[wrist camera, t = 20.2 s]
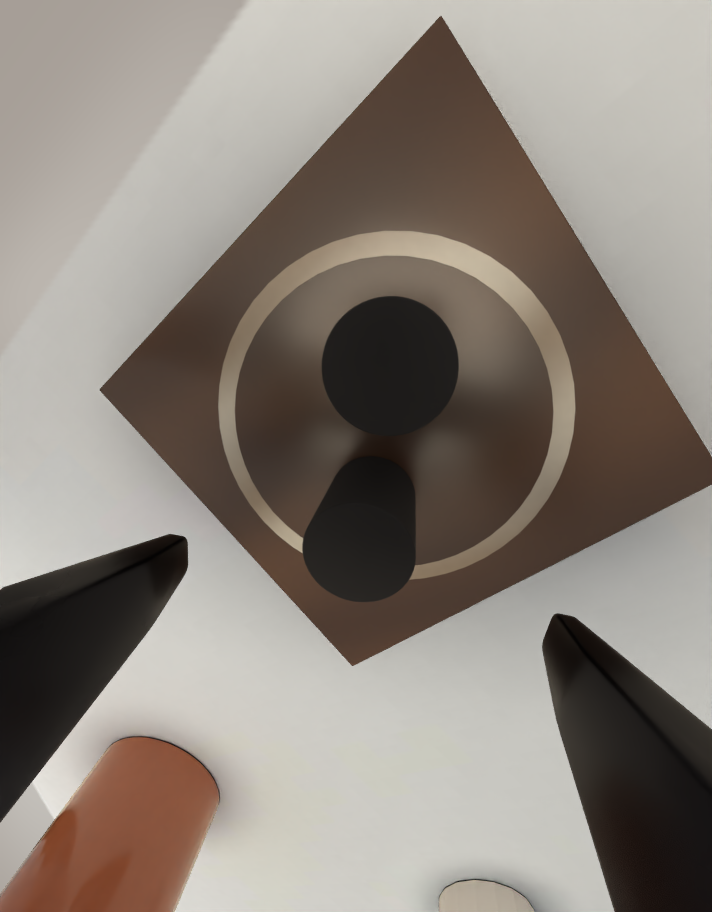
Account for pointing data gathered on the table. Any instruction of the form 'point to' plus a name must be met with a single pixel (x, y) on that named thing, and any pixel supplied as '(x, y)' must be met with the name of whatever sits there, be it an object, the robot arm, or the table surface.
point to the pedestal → (121, 835)
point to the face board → (479, 351)
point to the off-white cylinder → (482, 898)
